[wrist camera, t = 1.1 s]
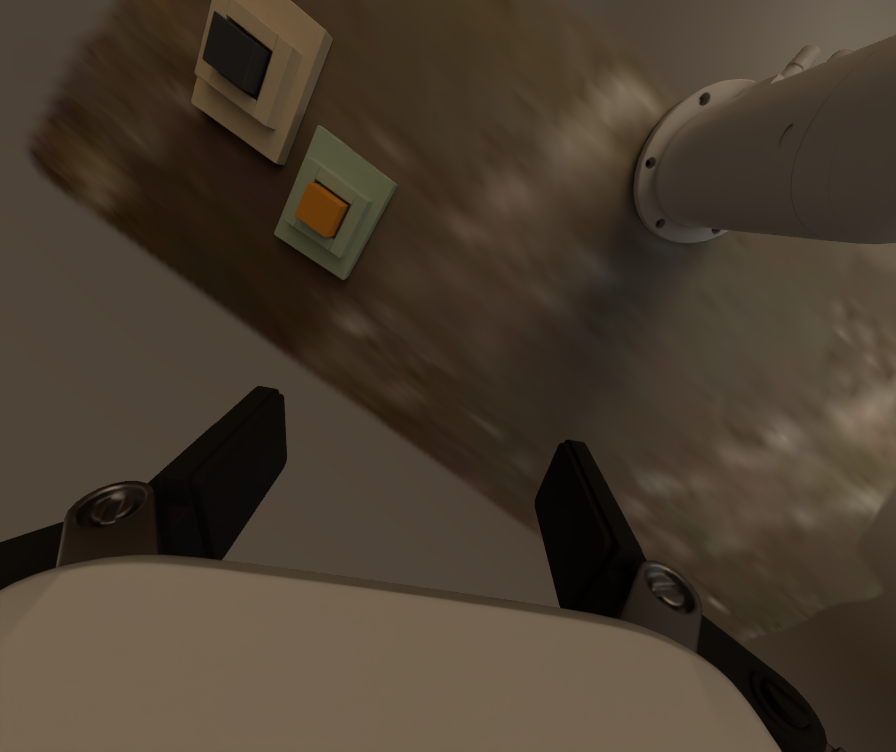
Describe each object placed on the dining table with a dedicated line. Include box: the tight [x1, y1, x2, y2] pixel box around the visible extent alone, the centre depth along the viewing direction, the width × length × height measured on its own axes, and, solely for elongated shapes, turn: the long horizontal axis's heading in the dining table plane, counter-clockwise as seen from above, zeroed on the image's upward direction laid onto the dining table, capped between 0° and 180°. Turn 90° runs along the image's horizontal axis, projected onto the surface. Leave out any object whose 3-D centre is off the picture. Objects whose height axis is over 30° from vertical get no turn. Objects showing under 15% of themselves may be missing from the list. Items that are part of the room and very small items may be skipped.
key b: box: [294, 182, 349, 238], centre depth 30 cm, size 3×3×2 cm
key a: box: [202, 11, 270, 96], centre depth 26 cm, size 3×3×2 cm
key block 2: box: [274, 125, 397, 280], centre depth 32 cm, size 11×8×4 cm
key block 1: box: [191, 0, 333, 165], centre depth 28 cm, size 11×8×4 cm
